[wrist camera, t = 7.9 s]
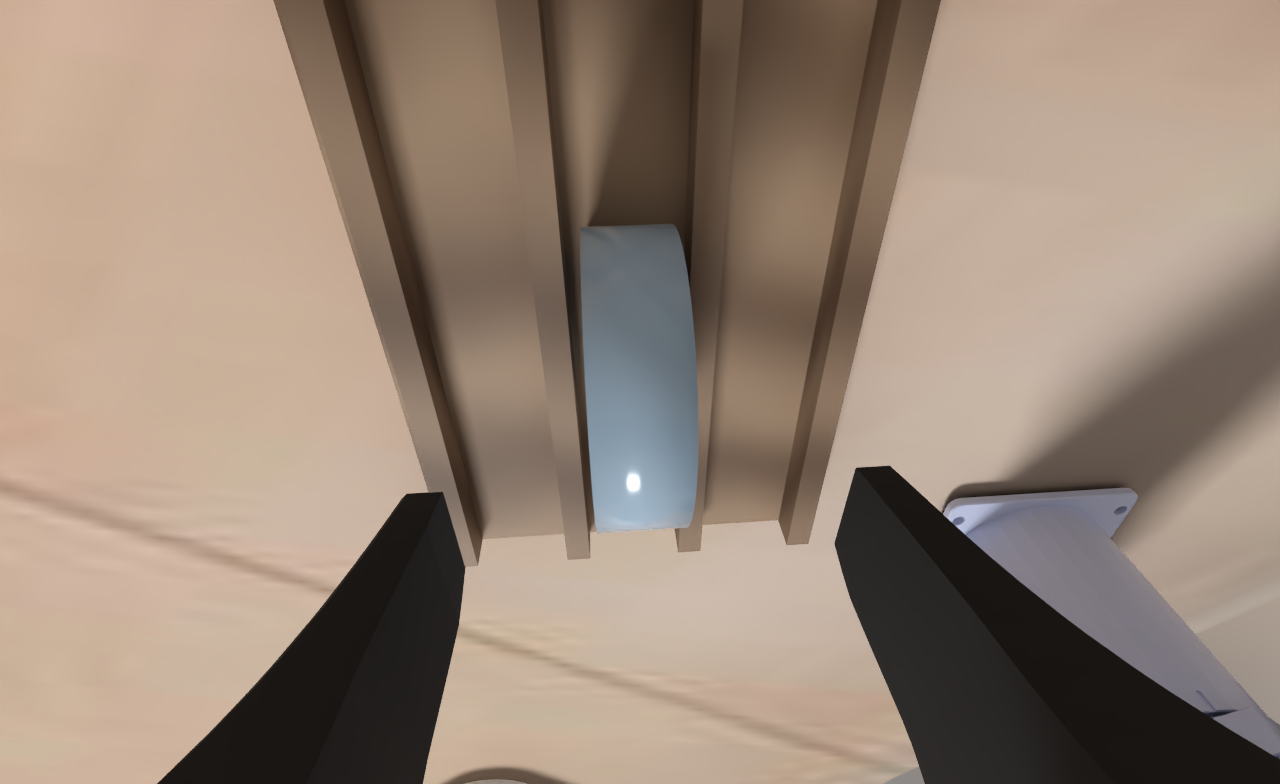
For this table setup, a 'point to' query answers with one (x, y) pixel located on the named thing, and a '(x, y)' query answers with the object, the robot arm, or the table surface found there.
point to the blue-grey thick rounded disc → (639, 377)
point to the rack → (612, 223)
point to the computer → (496, 782)
